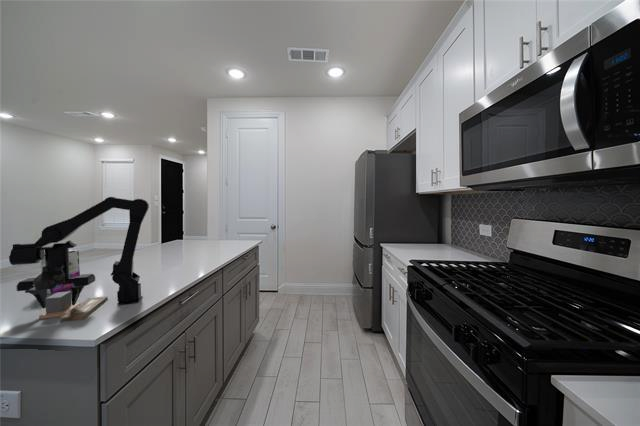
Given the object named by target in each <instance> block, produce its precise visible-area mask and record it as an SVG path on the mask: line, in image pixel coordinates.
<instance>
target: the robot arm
mask: <svg viewBox="0 0 640 426" xmlns="http://www.w3.org/2000/svg"><path fill="white" fill-rule="evenodd" d="M149 205H150V204H149V203H148V201H147V200H145V199H143V198H136V199H135V198H134V199H124V198H118V197H116V196H108V197H106V198H104V200H102V201H99V202H98V203H97V204H94V205H92V206H91V207H89V208H87V209H86V210H84V211H81V212H80V213H78V214H77V215H75V216H72V217H71V218H68V219H65V220H63V221H60V222H57V223H55V224H51V225H49V226H46V227H45V228H43V230H42V231H41V236H40V237H39V238H38V240H37V241H36V242H35V243H34V242H33V243H23V242H22V243H13V244H12V249H11V251H10V254H9V256H8V259H9V263H10V265H12V266H19V265H20V266H22V265H31V264H33V265H34V264H39V263H41V260H43V259H44V255H45V266H44V267H43V269H42V271H41V273H40V274H38V275H37V276H36V277H28V278H26V279H23V280H21V281H18V283H17V284H16V286H15V287H16V292H23V291H24V293H25V294H27V293H28V294H31V295H32V296H34V298H35V299H36V300H37V302H38V303H39V305H40V307H41V308H42V309H46V301H45V299H46V298H48V294H47V289H53V288H55V287H56V285H59V284H72V283H73V285H74V286H73V287H71V288H70V289H69V290H70V291H71V304H72V306H73V305H75V304H76V303H77V301H78V299H79V297H80V295H81V293H82V291H83V289H84V288H85V287H86V286H89V285H91V284H92V283H95V282H96V275H94V273H86V274H85V273H84V274H80V275H79V276H77V277H75V278H70V277H71V276H72V274H69V266H70V265H71V262H69V250H70V249H73V248H75V247H77V244H76V243H74V242H72V241H71V240H67V241H66V242H62V243H61V241H65V240H66V239H68V238H69V237H70V236H71V235H72V234H74V233H75V232H76V231H77V230H78V229H80V228H81V227H82V226H83V225H84V226H85V224H87V223H89V222H91V221H93V220H94V219H96V218H98V217H100V216H101V215H104V214H105V213H107V212H108V211H110V210H112V209H120V210H127V211H128V212H129V223H128V228H127V232H126V236H125V241H124V244H123V248H122V252H121V257H120V259H119V261H117V260H115V262H114V263H113V265H112V272H111V274H110V276H111V277H112V282H114V283H115V284H117V285H118V286H119V287H118V290H117V293H116V295H117V296H116V298H117V306H121V305H130V304H131V305H133V304H138V303H140V302H141V300H142V299H143V298H144V297H143V295H142V283H141V282H140V283H139V281H140V278H141V275H138V274H137V273H136V272H134V256H135V252H136V247H137V244H138V239H139V237H140V236H139V235H140V231H141V226H142V223H143V221H144V219H145V217H146V216H147V212H148V211H149V208H150V206H149ZM50 244H53V245H52V246H47V245H50ZM64 281H65V282H64Z"/></svg>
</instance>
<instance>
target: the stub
mask: <svg viewBox="0 0 640 426" xmlns="http://www.w3.org/2000/svg"><path fill="white" fill-rule="evenodd" d="M45 301H46V308H45V311H44V312H43V313H41V314H40V315H39V316H38V319H39V320H40V319H42V320H43V319H50V318H61V317H62V316H64V315H65V314H67V313H68V312H70V311H71V310H72V309H74V308H75V307H77V306H78V305H80V304H81V303H82V302H76V304H75V305H73V306H72V291H71V290H70V291H69V290H68V291H62V292H58V293H55V294H50V296H47V298H46V299H45Z"/></svg>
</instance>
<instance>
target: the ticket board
mask: <svg viewBox="0 0 640 426" xmlns="http://www.w3.org/2000/svg"><path fill="white" fill-rule="evenodd" d="M106 301H108V296H98V297H96V296H95V297H89V298H87V299H85V300H84V301H82V302H80V303H81V304H80V305H78V306H77V307H75V308H74V309H72V310H71V311H70V312H68V313H67V314H65V315H64V316H61V317H59V322H60V323H62V322H71V321H81V320H85V319H86V318H87V317H88V316H90V315H91V314H92V313H94V312H95V310H97V309H98V308H99V307H101V306H102V305H103V304H104V303H105V302H106Z"/></svg>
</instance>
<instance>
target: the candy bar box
mask: <svg viewBox="0 0 640 426" xmlns="http://www.w3.org/2000/svg"><path fill="white" fill-rule="evenodd" d="M79 252H80V251H79V250H78V249H69V262H71V265H70V266H69V274H72V276H71V277H70V278H75V277H77V276H79V275H81V274H80V273H81V272H80V271H81V270H80V255H79ZM44 266H45V255H44V259H43V260H40V268H41V272H42V269H43V267H44ZM64 282H65V281H64ZM73 286H74V285H73V283H72V284H59V285H56V287H55V288H53V289H47V295H53V294H55V293H58V292H66V291H69V290H71V289H70V288H71V287H73Z"/></svg>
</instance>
